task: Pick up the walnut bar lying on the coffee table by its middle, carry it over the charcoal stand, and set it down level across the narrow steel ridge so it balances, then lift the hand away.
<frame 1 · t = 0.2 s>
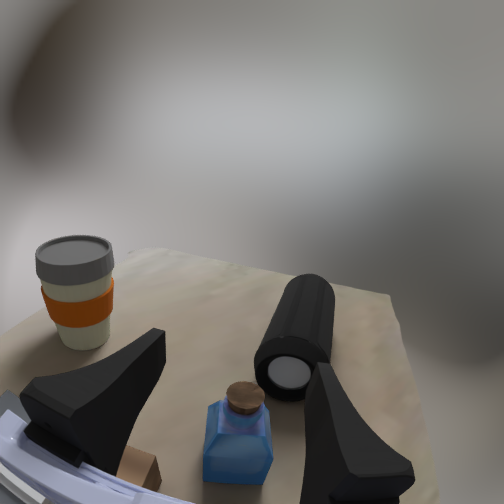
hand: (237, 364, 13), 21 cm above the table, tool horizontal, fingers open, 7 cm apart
reusable coffee cup: (85, 334, 42), on the table
perfume bottle: (233, 461, 27), on the table
portable speaker: (295, 352, 48), on the table
ridge stand: (9, 473, 16), on the table
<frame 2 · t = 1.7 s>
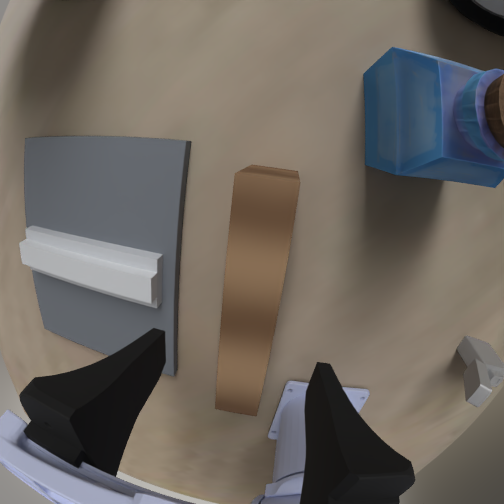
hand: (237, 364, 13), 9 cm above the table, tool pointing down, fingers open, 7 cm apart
grey angular piece: (463, 342, 22), on the table
perfume bottle: (407, 123, 17), on the table
walnut bar: (259, 279, 22), on the table
ridge stand: (94, 256, 23), on the table
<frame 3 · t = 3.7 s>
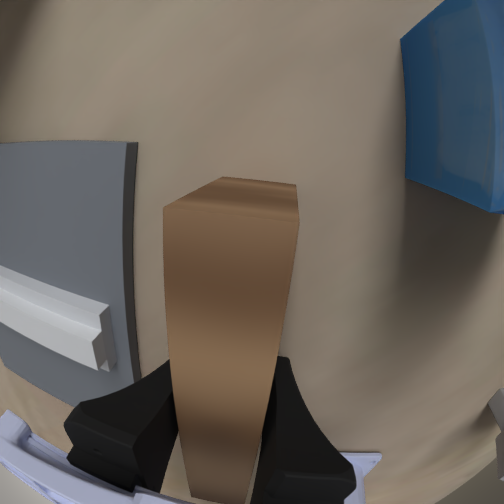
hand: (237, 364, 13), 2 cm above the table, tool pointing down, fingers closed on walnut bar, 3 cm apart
grey angular piece: (496, 394, 15), on the table
perfume bottle: (462, 117, 10), on the table
walnut bar: (243, 341, 15), on the table, touching gripper
ridge stand: (38, 295, 16), on the table
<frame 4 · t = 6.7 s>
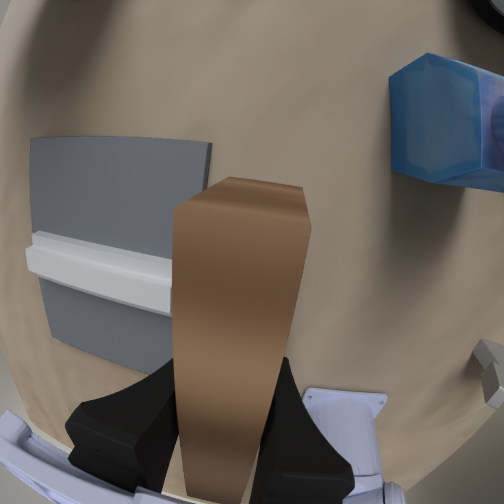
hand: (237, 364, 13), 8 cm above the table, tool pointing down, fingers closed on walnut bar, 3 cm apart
grey angular piece: (479, 345, 21), on the table
perfume bottle: (431, 128, 16), on the table
walnut bar: (243, 342, 15), point 7 cm above the table, touching gripper
ridge stand: (106, 263, 22), on the table
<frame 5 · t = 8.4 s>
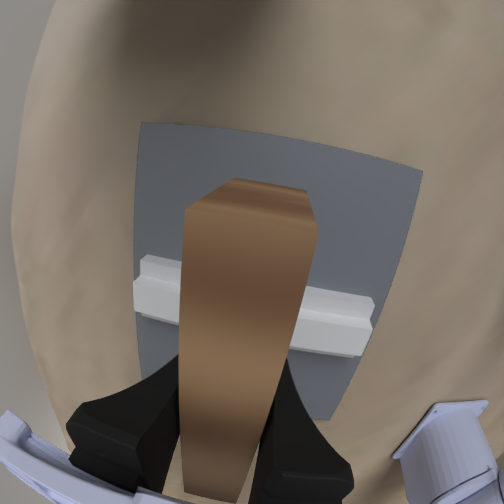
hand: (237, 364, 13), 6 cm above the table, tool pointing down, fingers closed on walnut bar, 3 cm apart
walnut bar: (243, 340, 15), point 4 cm above the table, touching gripper
ridge stand: (254, 297, 19), on the table
when the fingers open (5 cm above the table, at t = 9.7 s): walnut bar stays where it is, resting on ridge stand.
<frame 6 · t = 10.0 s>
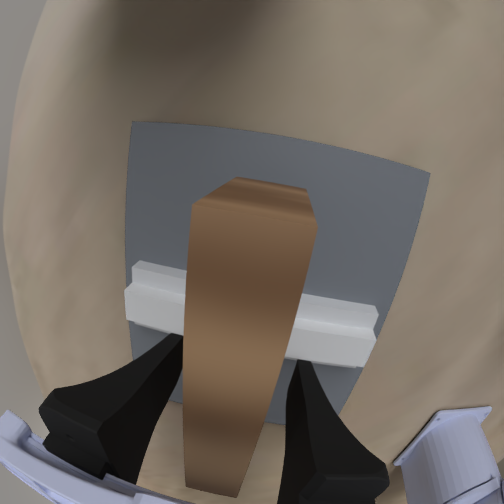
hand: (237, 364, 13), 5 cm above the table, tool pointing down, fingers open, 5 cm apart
walnut bar: (244, 335, 15), point 3 cm above the table, touching ridge stand
ridge stand: (252, 305, 18), on the table
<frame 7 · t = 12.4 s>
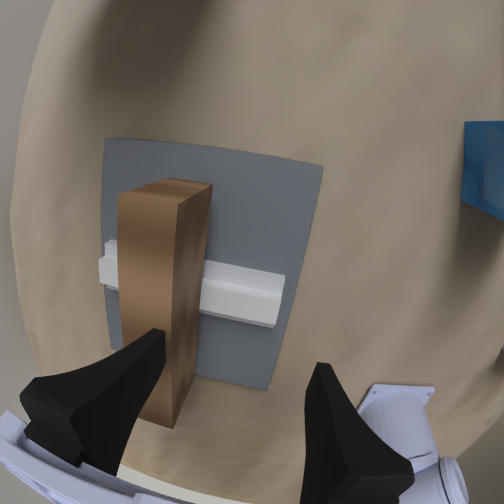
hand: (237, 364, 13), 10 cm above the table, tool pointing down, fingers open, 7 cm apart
perfume bottle: (490, 166, 17), on the table
walnut bar: (180, 293, 21), point 3 cm above the table, touching ridge stand
ridge stand: (192, 274, 24), on the table
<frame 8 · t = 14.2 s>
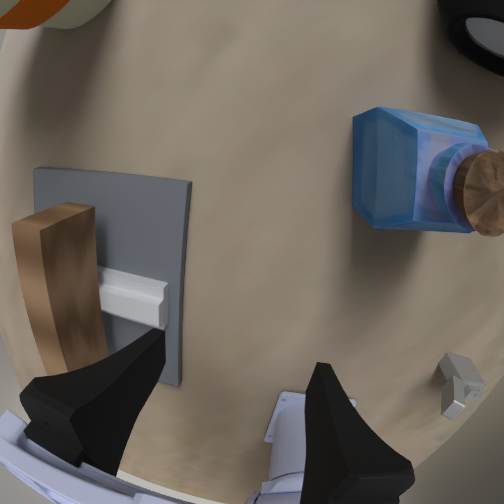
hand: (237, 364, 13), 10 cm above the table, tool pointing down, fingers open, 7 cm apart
grey angular piece: (445, 358, 24), on the table
perfume bottle: (393, 163, 19), on the table
walnut bar: (86, 296, 22), point 3 cm above the table, touching ridge stand
ridge stand: (104, 280, 25), on the table
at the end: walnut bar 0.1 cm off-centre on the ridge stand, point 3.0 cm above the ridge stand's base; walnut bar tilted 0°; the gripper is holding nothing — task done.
